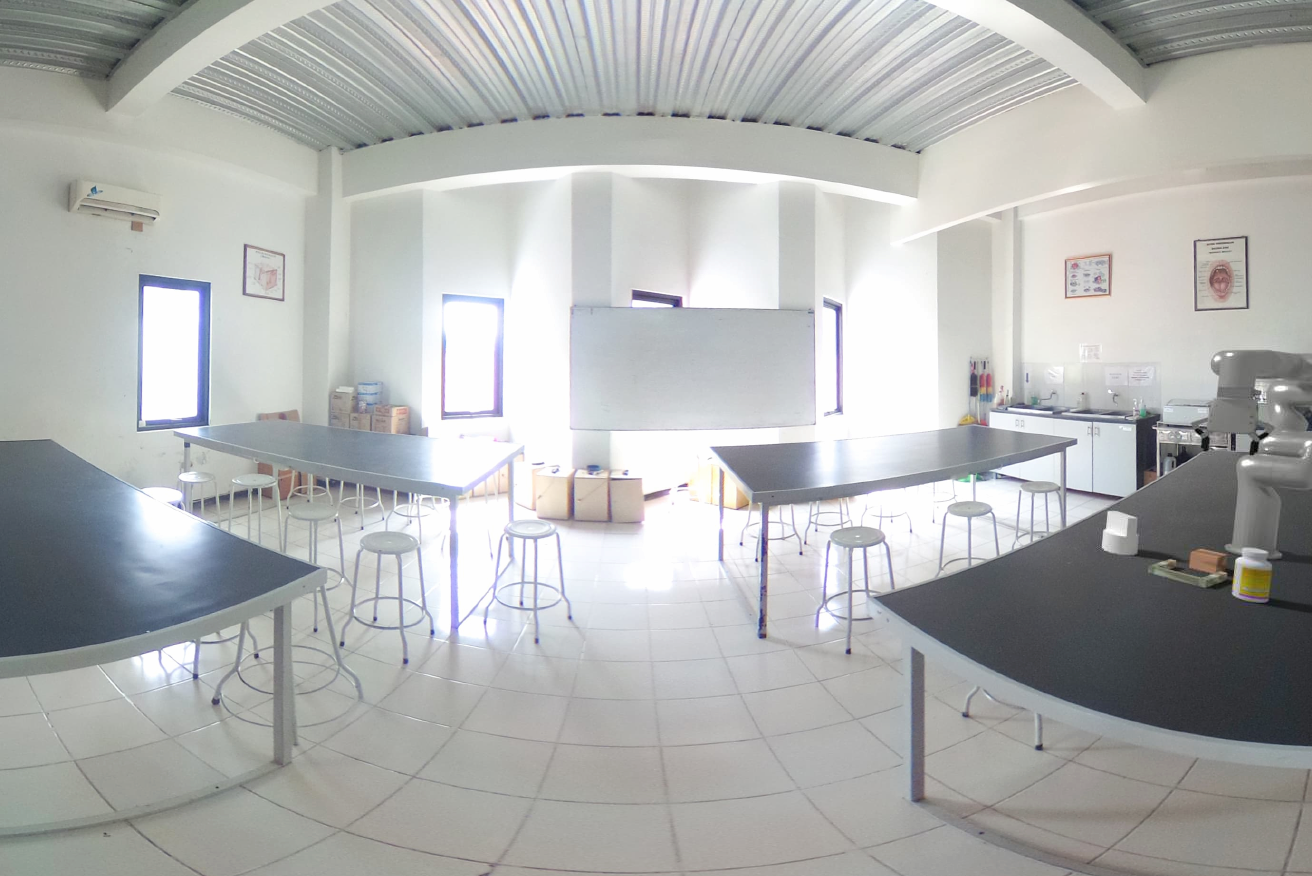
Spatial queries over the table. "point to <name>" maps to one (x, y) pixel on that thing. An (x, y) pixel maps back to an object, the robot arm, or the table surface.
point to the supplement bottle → (1252, 576)
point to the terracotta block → (1208, 561)
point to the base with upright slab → (1120, 534)
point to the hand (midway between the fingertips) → (1228, 453)
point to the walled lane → (1164, 571)
